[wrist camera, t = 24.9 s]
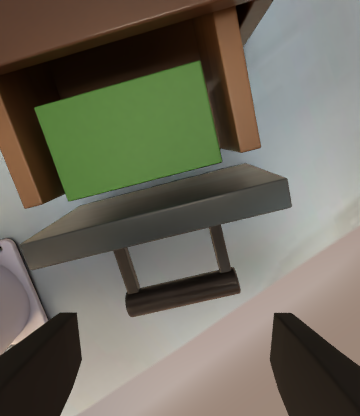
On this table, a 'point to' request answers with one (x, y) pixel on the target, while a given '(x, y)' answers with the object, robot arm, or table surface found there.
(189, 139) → the green rectangular box
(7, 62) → the cabinet
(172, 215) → the drawer
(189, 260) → the table surface
